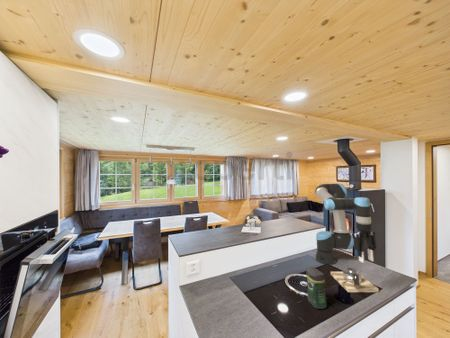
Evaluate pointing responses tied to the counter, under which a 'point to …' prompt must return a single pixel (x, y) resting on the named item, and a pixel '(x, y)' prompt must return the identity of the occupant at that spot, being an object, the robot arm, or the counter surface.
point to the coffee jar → (316, 288)
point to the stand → (349, 287)
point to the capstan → (352, 277)
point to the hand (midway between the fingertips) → (366, 261)
